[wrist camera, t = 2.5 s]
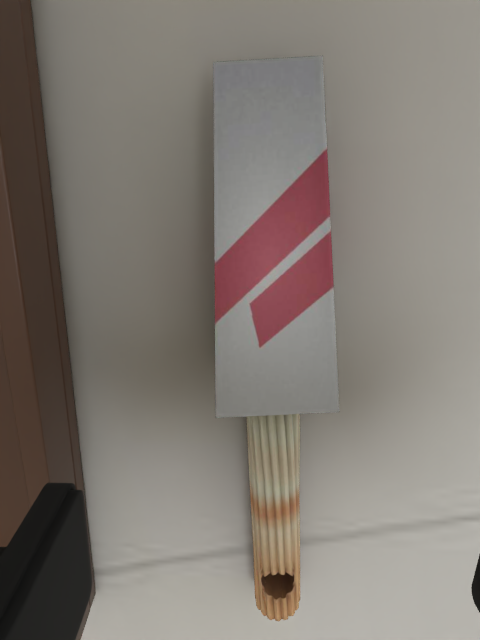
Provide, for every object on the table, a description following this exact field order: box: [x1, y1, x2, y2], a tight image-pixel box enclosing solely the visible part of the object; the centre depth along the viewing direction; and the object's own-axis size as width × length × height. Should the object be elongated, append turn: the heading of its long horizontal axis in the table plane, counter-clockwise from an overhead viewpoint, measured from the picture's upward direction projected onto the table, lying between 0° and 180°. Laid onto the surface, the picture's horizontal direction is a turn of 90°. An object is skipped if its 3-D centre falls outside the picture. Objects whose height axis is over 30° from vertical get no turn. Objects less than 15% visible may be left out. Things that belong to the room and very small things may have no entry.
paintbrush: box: [213, 56, 339, 621], centre depth 15 cm, size 4×3×20 cm
